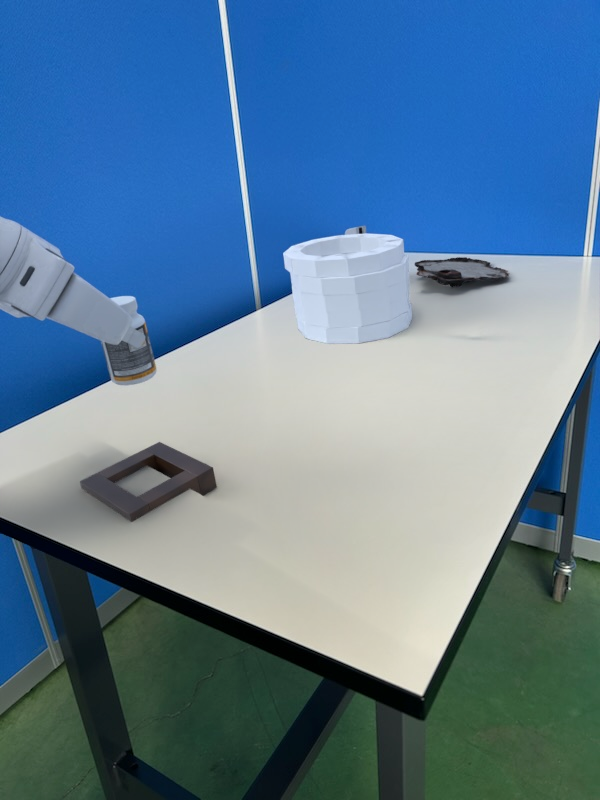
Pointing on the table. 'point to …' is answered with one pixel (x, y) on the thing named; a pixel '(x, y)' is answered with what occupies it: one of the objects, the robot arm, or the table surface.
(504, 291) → the table surface
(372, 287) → the container
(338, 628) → the table surface
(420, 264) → the scrap metal
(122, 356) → the pill bottle
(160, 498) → the frame
